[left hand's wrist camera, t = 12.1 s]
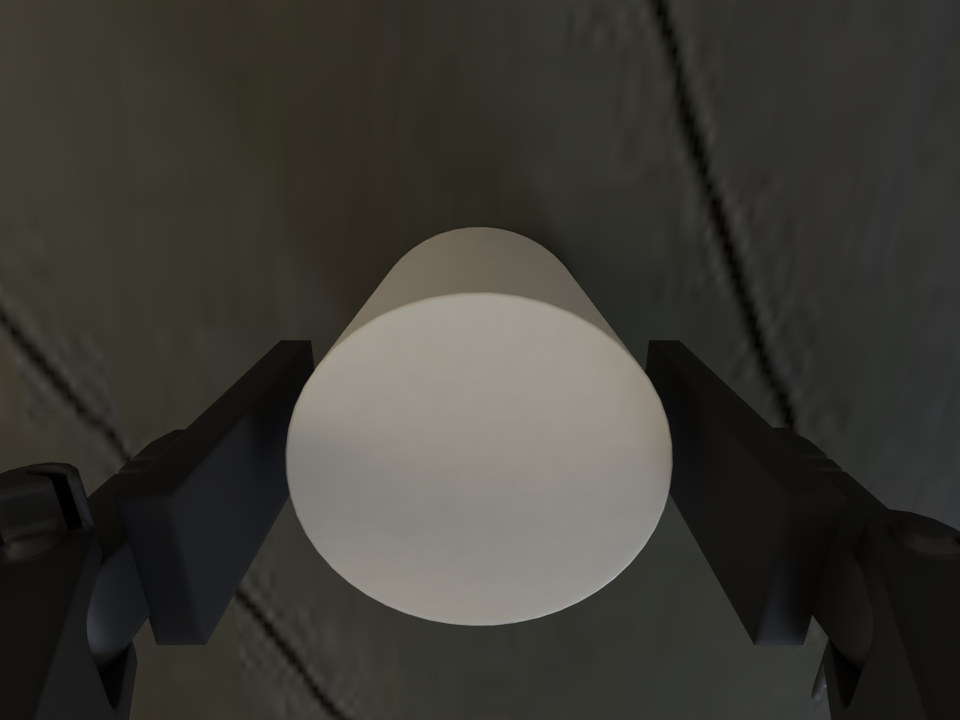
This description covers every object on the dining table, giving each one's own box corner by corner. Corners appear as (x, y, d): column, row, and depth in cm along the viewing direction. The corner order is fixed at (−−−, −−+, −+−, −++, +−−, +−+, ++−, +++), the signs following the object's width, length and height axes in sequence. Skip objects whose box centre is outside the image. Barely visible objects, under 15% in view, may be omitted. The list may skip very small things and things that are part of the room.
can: (569, 203, 16) (652, 249, 8) (601, 411, 18) (688, 595, 11) (342, 254, 17) (222, 343, 9) (403, 450, 19) (351, 651, 11)
